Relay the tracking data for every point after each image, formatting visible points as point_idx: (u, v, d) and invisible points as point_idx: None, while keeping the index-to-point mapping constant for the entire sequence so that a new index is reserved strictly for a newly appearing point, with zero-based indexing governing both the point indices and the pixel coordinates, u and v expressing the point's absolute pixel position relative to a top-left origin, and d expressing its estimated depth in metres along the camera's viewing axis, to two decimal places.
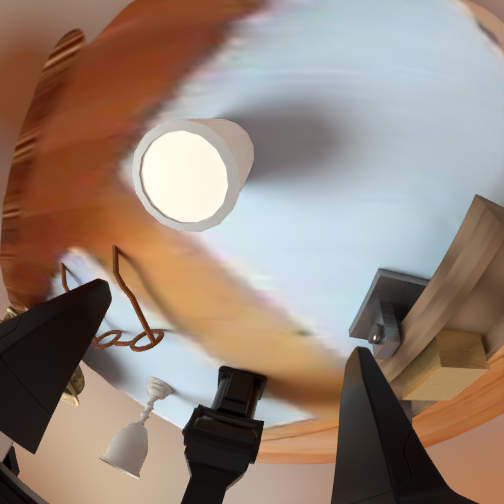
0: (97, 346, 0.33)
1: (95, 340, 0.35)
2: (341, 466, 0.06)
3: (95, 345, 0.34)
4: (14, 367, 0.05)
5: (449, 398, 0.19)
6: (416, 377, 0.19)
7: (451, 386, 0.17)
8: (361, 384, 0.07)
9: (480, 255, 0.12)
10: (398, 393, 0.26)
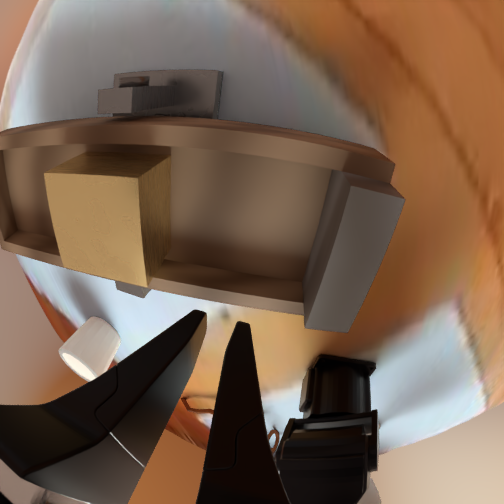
0: None
1: None
2: None
3: None
4: (122, 438, 0.05)
5: (128, 186, 0.11)
6: None
7: (89, 217, 0.12)
8: (224, 357, 0.07)
9: (16, 252, 0.17)
10: (287, 210, 0.15)
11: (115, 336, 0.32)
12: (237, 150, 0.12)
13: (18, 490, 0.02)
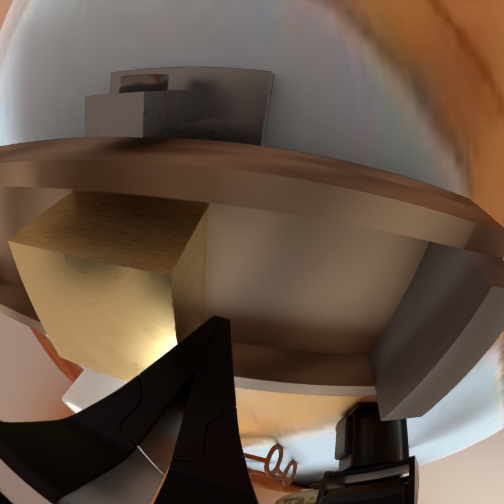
0: None
1: (288, 480, 0.33)
2: None
3: None
4: (148, 449, 0.05)
5: (152, 286, 0.06)
6: None
7: (88, 315, 0.07)
8: None
9: (0, 310, 0.12)
10: (371, 282, 0.11)
11: None
12: (337, 218, 0.07)
13: None
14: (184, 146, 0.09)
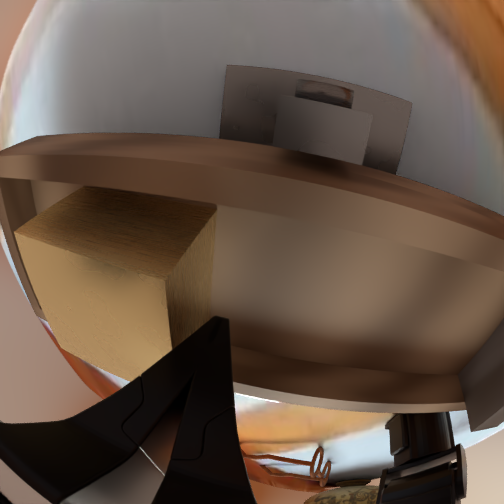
0: None
1: (323, 480, 0.33)
2: None
3: None
4: (150, 450, 0.05)
5: (147, 289, 0.06)
6: None
7: (87, 311, 0.08)
8: None
9: None
10: (483, 313, 0.09)
11: None
12: (502, 268, 0.06)
13: None
14: (373, 177, 0.08)
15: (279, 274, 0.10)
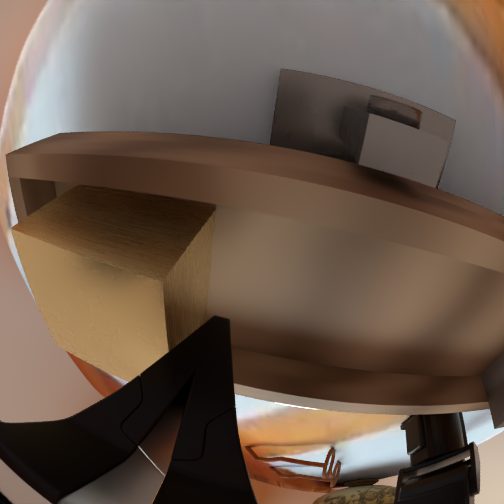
0: None
1: None
2: None
3: None
4: (148, 450, 0.05)
5: (145, 290, 0.06)
6: None
7: (84, 310, 0.07)
8: None
9: None
10: None
11: None
12: None
13: None
14: (435, 196, 0.08)
15: (339, 287, 0.10)
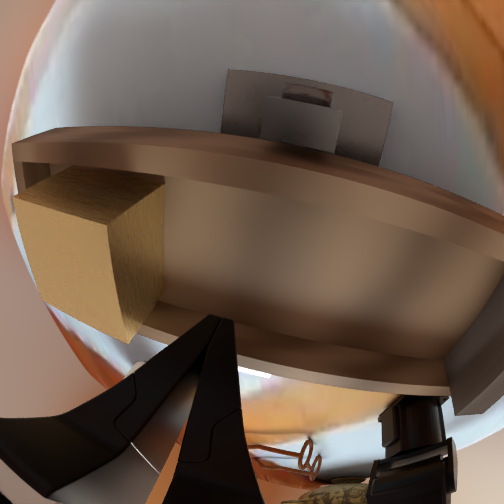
0: None
1: (313, 474, 0.34)
2: None
3: None
4: (142, 447, 0.05)
5: (96, 233, 0.08)
6: None
7: (60, 258, 0.09)
8: None
9: None
10: (463, 297, 0.11)
11: None
12: (470, 246, 0.07)
13: None
14: (348, 165, 0.09)
15: (269, 251, 0.12)
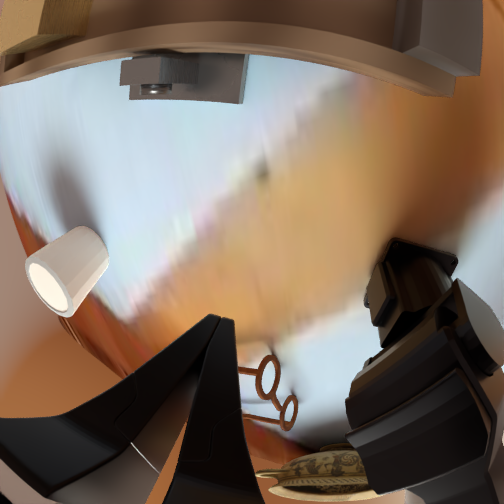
0: None
1: (287, 424, 0.30)
2: None
3: None
4: (142, 447, 0.05)
5: None
6: (27, 43, 0.08)
7: None
8: None
9: (12, 81, 0.11)
10: None
11: (102, 249, 0.24)
12: None
13: None
14: None
15: None
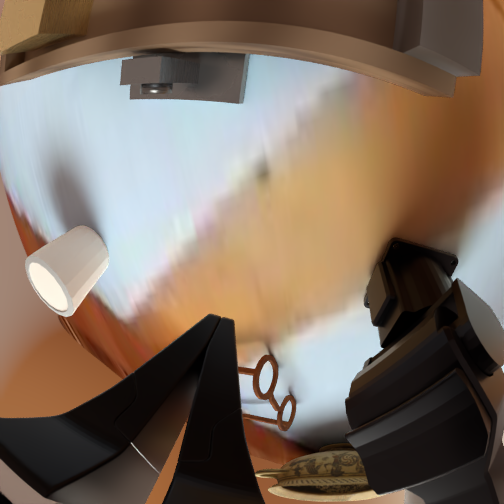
0: None
1: (285, 424, 0.30)
2: None
3: None
4: (141, 446, 0.05)
5: None
6: (28, 43, 0.08)
7: None
8: None
9: (12, 80, 0.11)
10: None
11: (102, 249, 0.24)
12: None
13: None
14: None
15: None
